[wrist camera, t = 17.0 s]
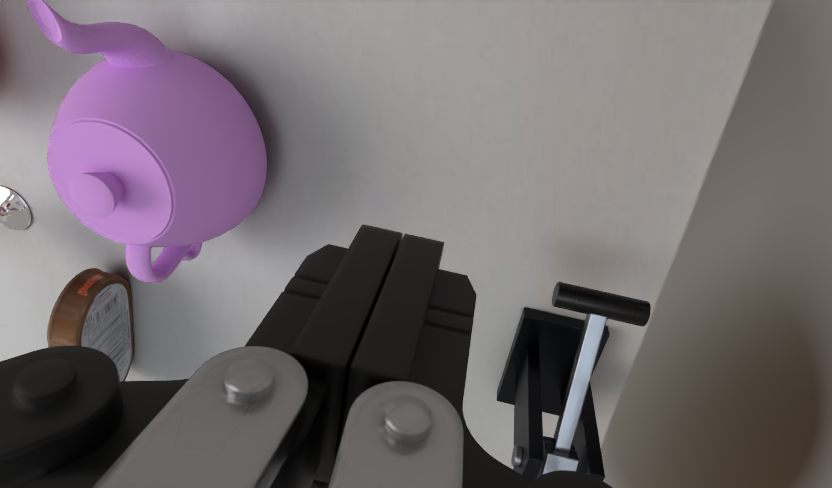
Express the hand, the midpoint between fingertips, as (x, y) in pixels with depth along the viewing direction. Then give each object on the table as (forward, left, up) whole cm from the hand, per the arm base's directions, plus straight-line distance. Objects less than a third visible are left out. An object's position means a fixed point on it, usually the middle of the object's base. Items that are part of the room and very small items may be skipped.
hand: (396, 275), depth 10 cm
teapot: (+21, +10, -29) cm, 37 cm away
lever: (-11, +20, -21) cm, 31 cm away
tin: (+30, +32, -29) cm, 53 cm away
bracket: (-11, +25, -29) cm, 40 cm away
